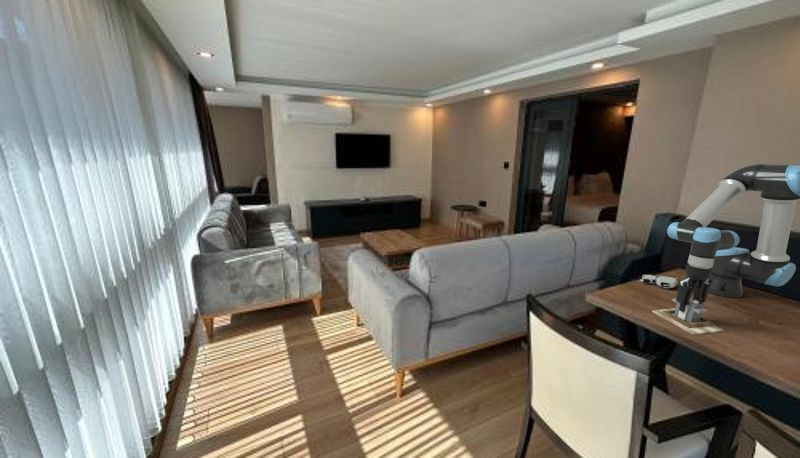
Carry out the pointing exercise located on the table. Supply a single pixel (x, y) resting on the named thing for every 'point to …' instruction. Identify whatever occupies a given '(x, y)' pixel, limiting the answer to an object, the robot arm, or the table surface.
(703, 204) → the robot arm
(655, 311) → the pocket board
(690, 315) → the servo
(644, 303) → the table surface
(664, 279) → the robot toy
